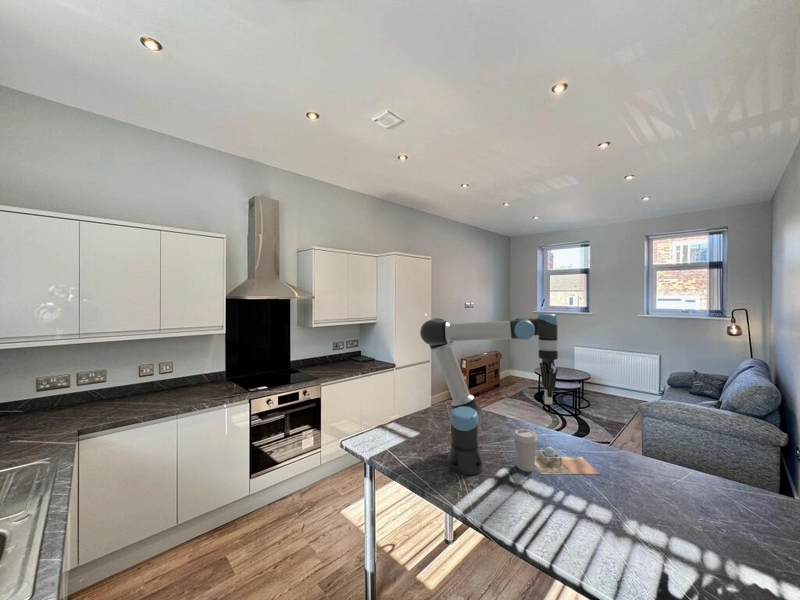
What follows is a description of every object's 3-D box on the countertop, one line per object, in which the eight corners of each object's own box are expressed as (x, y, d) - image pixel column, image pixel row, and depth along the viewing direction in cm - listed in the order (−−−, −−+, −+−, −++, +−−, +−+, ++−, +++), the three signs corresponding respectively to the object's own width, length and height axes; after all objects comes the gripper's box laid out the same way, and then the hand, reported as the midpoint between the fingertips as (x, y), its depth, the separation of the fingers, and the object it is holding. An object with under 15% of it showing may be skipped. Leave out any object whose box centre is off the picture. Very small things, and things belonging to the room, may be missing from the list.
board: (541, 475, 126) (541, 465, 126) (528, 458, 140) (528, 449, 140) (600, 476, 125) (600, 466, 125) (581, 458, 139) (581, 449, 139)
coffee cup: (533, 463, 135) (533, 428, 135) (541, 475, 126) (541, 438, 126) (511, 462, 136) (510, 428, 136) (517, 474, 127) (516, 437, 127)
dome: (546, 460, 133) (546, 449, 133) (542, 455, 138) (542, 444, 138) (557, 460, 133) (557, 449, 133) (552, 455, 138) (552, 444, 138)
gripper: (563, 351, 129) (564, 409, 129) (550, 347, 142) (550, 399, 142) (545, 351, 129) (545, 408, 129) (533, 347, 142) (533, 399, 142)
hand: (548, 403), depth 136 cm, fingers closed
